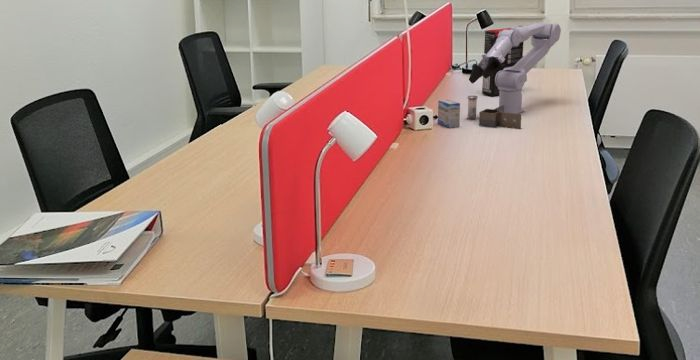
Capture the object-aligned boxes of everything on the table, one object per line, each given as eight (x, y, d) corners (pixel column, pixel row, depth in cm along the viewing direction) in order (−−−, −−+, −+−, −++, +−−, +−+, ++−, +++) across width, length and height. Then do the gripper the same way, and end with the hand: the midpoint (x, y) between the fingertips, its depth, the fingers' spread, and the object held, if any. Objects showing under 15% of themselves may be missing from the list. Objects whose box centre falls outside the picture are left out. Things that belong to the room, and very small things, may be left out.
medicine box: (437, 123, 275) (437, 100, 272) (448, 122, 277) (448, 98, 274) (449, 128, 268) (449, 104, 266) (459, 126, 270) (460, 102, 267)
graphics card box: (510, 89, 332) (513, 26, 324) (522, 92, 326) (525, 27, 318) (481, 95, 323) (483, 29, 315) (493, 97, 317) (495, 31, 309)
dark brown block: (495, 118, 281) (495, 104, 280) (510, 119, 278) (511, 106, 277) (479, 125, 270) (479, 112, 269) (495, 127, 267) (495, 113, 266)
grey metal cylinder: (469, 117, 284) (470, 95, 281) (478, 118, 282) (479, 96, 279) (465, 119, 281) (465, 97, 278) (474, 120, 279) (474, 97, 276)
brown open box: (486, 122, 275) (486, 108, 274) (523, 126, 268) (524, 112, 266) (479, 125, 270) (479, 112, 269) (516, 130, 263) (517, 116, 261)
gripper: (477, 51, 281) (458, 75, 276) (502, 40, 268) (483, 65, 263) (489, 65, 283) (470, 89, 277) (515, 55, 270) (495, 80, 265)
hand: (477, 79), depth 270 cm, fingers open, 7 cm apart
